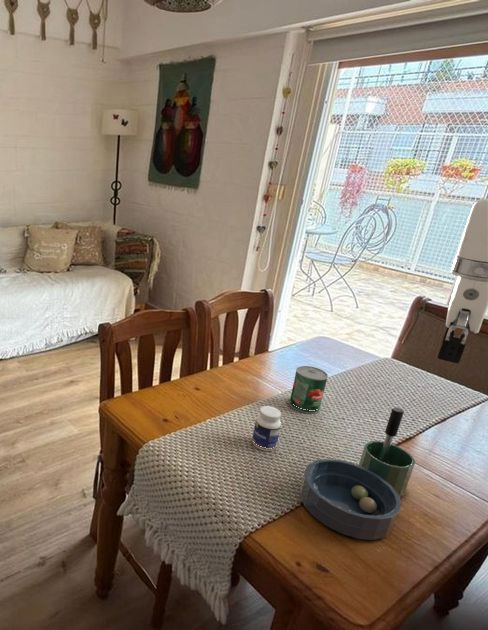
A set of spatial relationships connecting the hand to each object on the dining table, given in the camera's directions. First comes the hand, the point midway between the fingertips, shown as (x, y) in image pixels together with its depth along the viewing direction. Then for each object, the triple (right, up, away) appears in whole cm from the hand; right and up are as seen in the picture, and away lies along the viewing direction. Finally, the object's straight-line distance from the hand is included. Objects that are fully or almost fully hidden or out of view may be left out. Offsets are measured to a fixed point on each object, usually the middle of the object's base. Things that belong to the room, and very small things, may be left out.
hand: (449, 352), depth 86 cm
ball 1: (-14, -30, +5) cm, 34 cm away
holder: (-6, -30, +11) cm, 33 cm away
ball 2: (-14, -31, +2) cm, 34 cm away
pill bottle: (-26, -26, +24) cm, 44 cm away
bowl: (-18, -33, +4) cm, 38 cm away
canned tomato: (-7, -19, +40) cm, 45 cm away
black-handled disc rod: (-6, -29, +12) cm, 32 cm away
